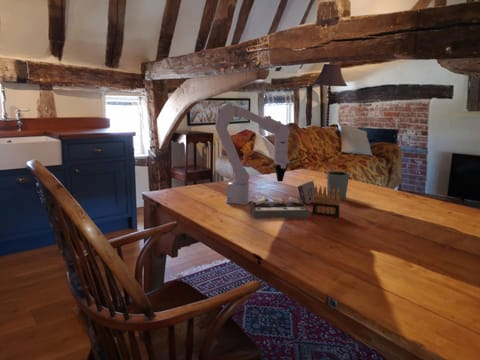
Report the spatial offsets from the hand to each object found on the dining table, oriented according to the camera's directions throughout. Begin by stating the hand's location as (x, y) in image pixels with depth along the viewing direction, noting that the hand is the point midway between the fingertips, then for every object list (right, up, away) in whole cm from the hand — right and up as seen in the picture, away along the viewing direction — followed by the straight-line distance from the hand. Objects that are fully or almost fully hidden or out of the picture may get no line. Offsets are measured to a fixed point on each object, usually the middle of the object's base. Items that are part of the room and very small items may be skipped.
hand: (279, 181), depth 164 cm
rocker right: (+5, -8, -14) cm, 17 cm away
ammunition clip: (+17, -14, -17) cm, 28 cm away
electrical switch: (+13, -10, +2) cm, 16 cm away
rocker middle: (-2, -8, -14) cm, 17 cm away
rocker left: (-9, -8, -15) cm, 19 cm away
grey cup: (+28, -8, +9) cm, 30 cm away
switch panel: (-2, -13, -15) cm, 20 cm away
